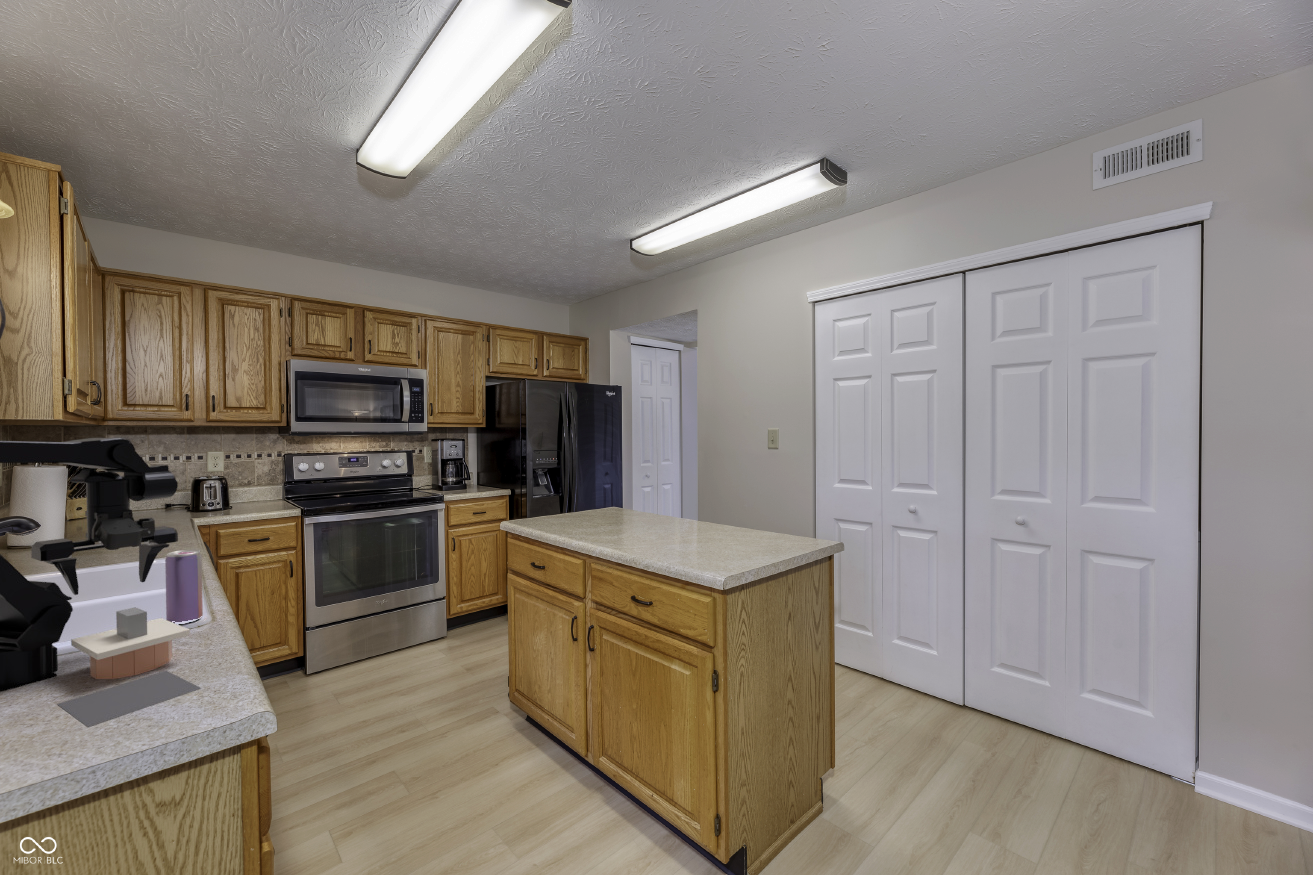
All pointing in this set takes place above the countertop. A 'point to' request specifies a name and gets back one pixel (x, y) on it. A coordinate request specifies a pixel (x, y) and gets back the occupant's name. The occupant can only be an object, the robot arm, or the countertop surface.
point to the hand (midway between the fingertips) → (110, 588)
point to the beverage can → (183, 585)
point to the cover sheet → (123, 645)
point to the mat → (127, 698)
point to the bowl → (131, 662)
